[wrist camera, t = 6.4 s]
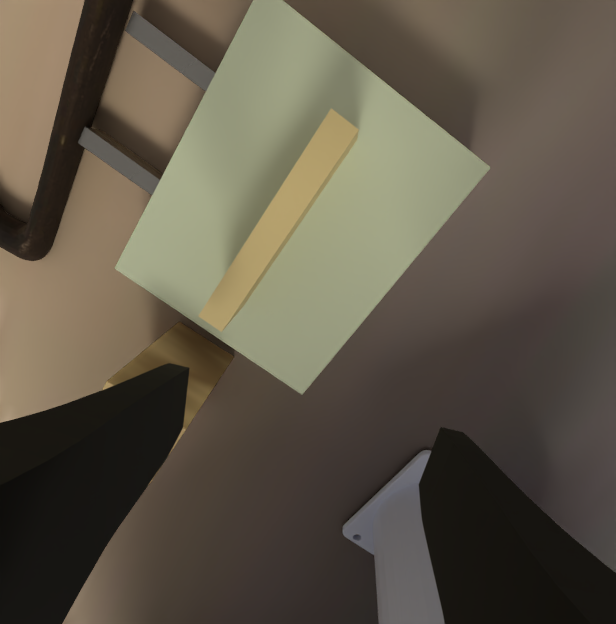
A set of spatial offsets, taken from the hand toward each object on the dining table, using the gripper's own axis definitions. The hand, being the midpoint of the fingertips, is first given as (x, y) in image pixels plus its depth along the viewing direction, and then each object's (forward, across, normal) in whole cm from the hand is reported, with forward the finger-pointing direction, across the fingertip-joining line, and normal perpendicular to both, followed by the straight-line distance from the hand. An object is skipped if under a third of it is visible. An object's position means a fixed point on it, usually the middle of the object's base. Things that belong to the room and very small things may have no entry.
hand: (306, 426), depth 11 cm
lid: (+7, +2, -5) cm, 9 cm away
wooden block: (+9, +7, +4) cm, 12 cm away
